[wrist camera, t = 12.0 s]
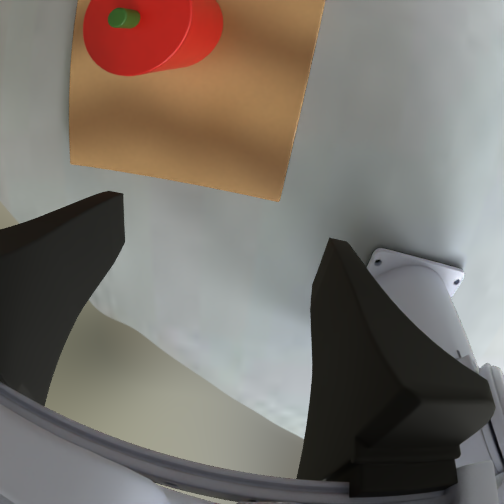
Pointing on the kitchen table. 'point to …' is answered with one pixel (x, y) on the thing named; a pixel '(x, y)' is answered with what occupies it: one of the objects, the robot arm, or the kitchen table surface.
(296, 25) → the cutting board
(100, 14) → the pepper
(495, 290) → the kitchen table surface
